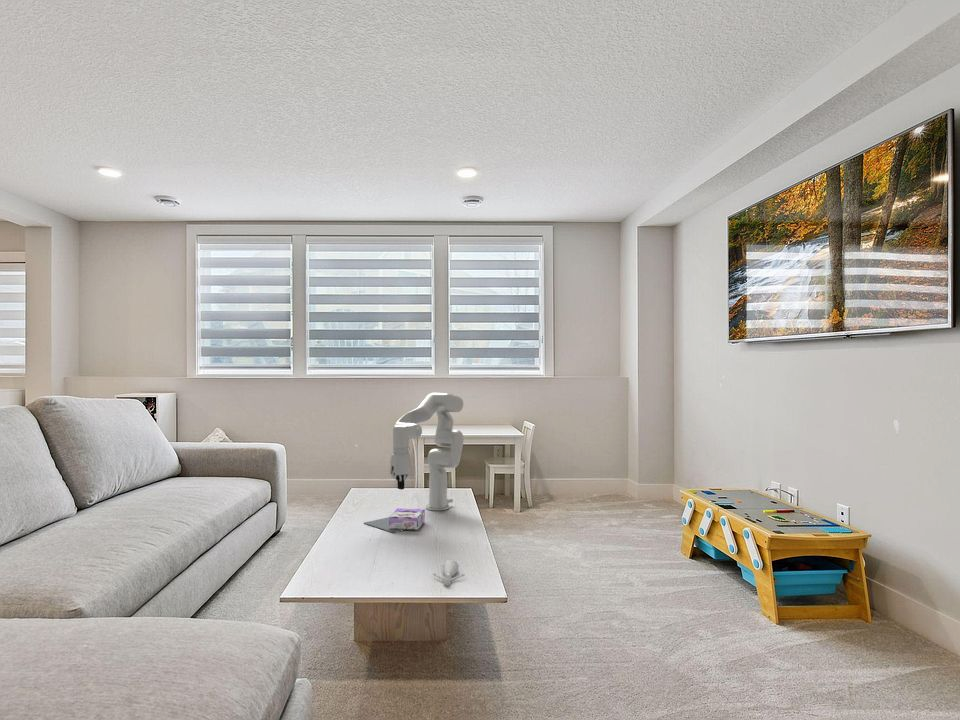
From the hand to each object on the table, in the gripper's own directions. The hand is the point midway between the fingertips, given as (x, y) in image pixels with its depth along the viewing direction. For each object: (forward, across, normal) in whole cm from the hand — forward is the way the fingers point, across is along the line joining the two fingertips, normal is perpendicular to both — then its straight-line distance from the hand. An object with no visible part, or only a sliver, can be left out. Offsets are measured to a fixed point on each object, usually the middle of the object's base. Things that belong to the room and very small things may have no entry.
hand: (401, 488), depth 283 cm
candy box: (+13, -5, +2) cm, 14 cm away
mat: (+16, +6, 0) cm, 17 cm away
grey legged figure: (+15, +34, +70) cm, 79 cm away
